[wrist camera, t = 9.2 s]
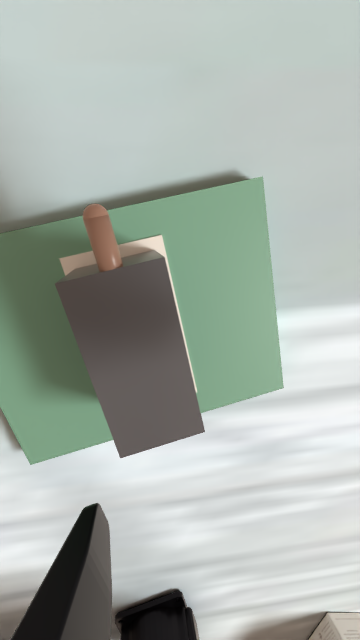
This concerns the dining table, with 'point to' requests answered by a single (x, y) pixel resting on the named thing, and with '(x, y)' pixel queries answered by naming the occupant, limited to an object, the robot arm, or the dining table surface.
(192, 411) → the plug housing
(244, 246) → the pin board
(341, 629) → the small box
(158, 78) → the dining table surface
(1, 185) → the dining table surface
